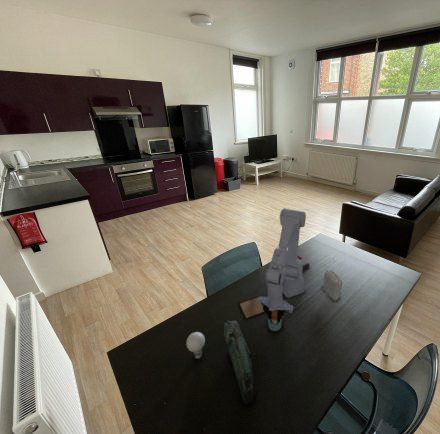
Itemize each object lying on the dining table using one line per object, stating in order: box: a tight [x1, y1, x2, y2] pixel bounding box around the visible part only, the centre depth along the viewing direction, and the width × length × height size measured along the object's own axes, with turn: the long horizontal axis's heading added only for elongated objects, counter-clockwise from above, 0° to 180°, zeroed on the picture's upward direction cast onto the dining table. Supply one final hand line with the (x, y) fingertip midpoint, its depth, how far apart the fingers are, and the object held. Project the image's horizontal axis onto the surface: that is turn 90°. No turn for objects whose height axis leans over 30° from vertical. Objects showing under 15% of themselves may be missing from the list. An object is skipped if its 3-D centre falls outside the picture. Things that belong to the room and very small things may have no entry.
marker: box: [271, 311, 279, 325], centre depth 98 cm, size 3×3×6 cm
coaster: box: [239, 297, 266, 319], centre depth 108 cm, size 9×9×1 cm
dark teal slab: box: [223, 319, 255, 405], centre depth 77 cm, size 20×6×20 cm, turn 23°
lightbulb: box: [185, 331, 206, 360], centre depth 85 cm, size 6×6×11 cm
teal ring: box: [267, 317, 283, 332], centre depth 99 cm, size 5×6×3 cm
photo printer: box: [322, 268, 343, 301], centre depth 114 cm, size 10×4×12 cm, turn 23°
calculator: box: [297, 254, 310, 272], centre depth 133 cm, size 11×4×15 cm
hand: (274, 319), depth 98 cm, fingers open, 3 cm apart
